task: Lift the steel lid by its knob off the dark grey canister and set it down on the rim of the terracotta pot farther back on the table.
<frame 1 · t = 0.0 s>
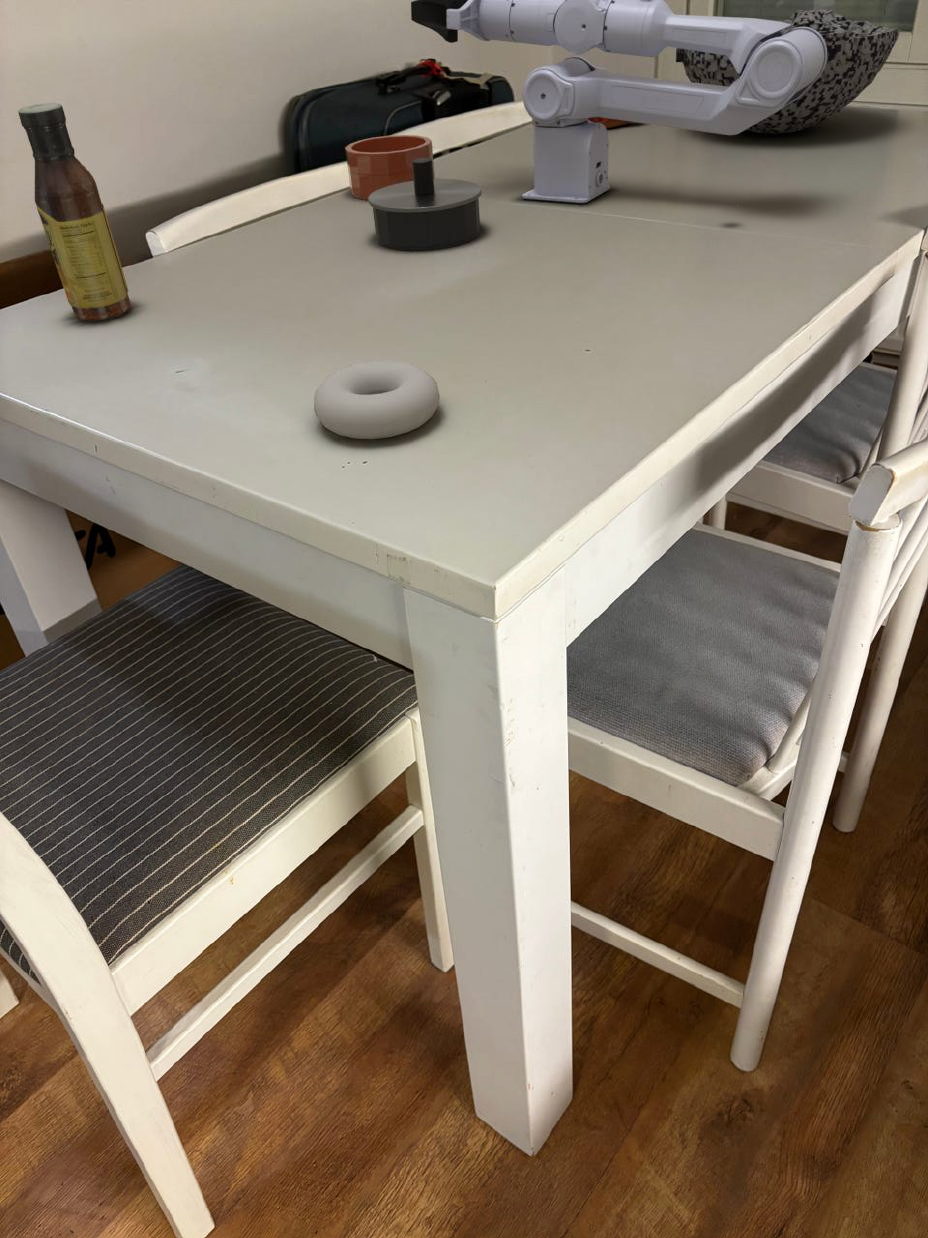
hand: (429, 6, 124), 22 cm above the table, tool horizontal, fingers open, 7 cm apart
donut: (379, 420, 76), on the table
lid: (425, 197, 114), point 4 cm above the table, touching dark grey canister
bowl: (775, 131, 151), on the table
dark grey canister: (428, 235, 117), on the table
pot: (393, 189, 137), on the table
sauce bottle: (103, 315, 102), on the table
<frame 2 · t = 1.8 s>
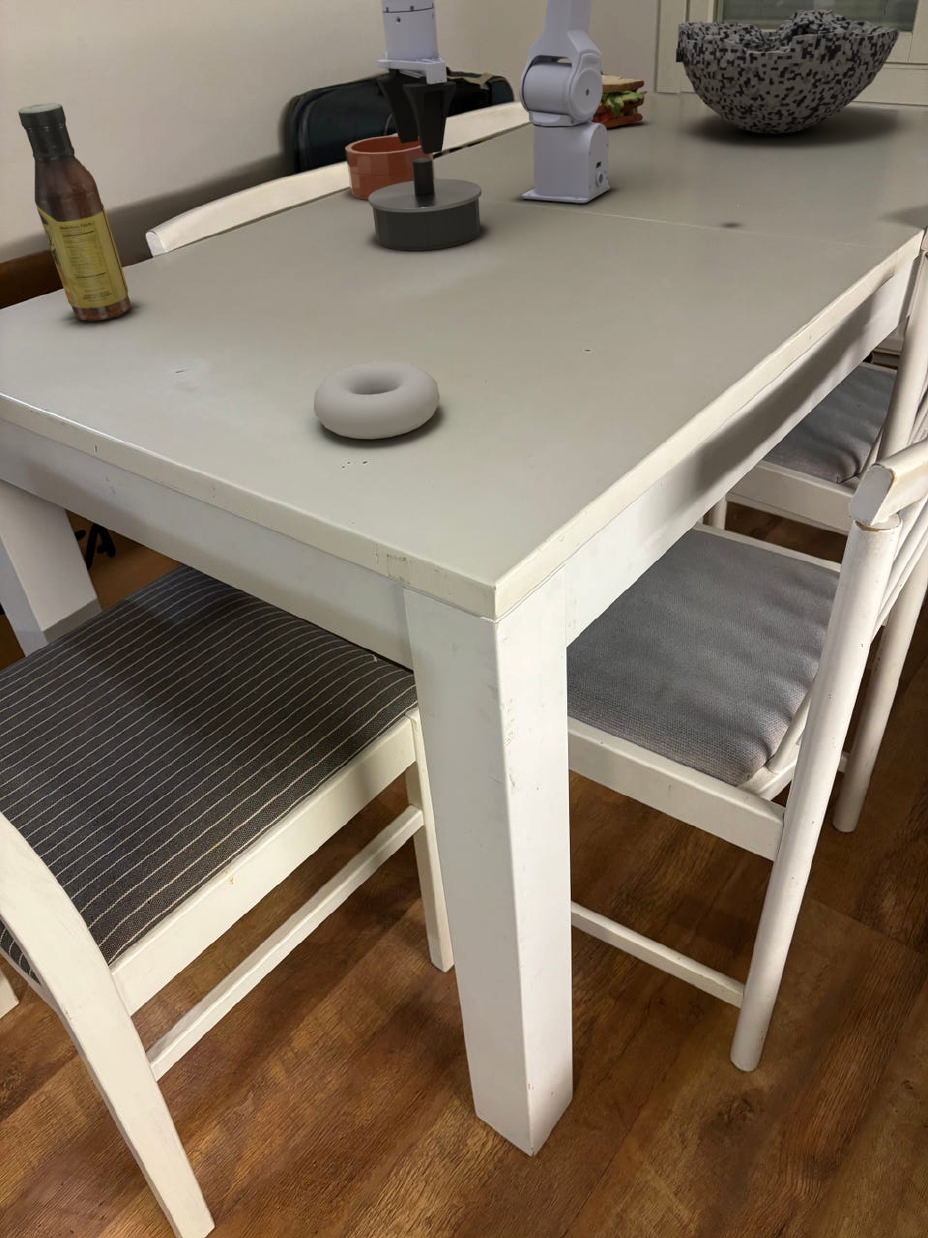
hand: (420, 146, 111), 10 cm above the table, tool pointing down, fingers open, 7 cm apart
nothing on the table moved.
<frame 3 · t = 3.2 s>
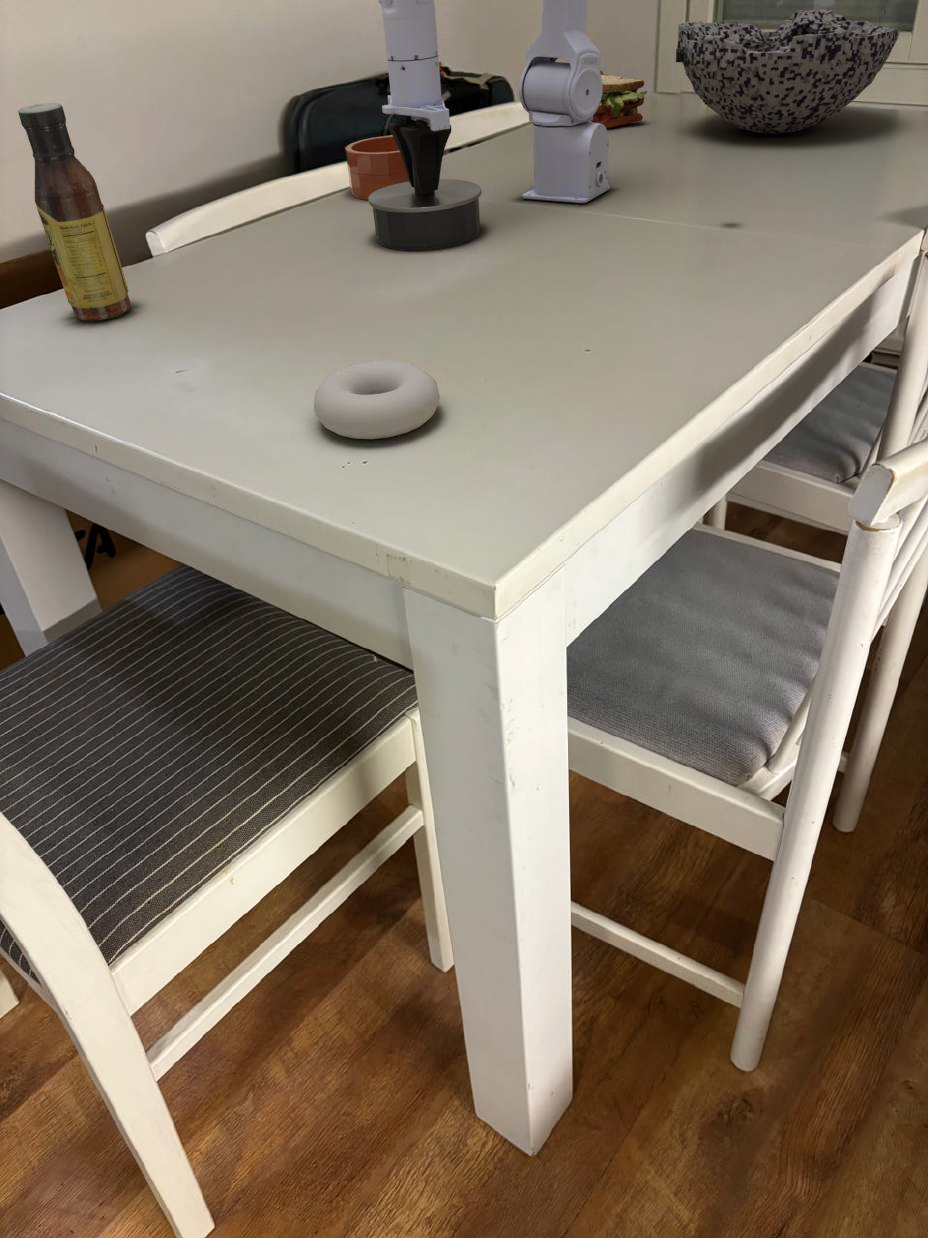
hand: (424, 188, 114), 5 cm above the table, tool pointing down, fingers closed on lid, 2 cm apart
lid: (425, 197, 114), point 4 cm above the table, touching gripper, dark grey canister
everything else where it was.
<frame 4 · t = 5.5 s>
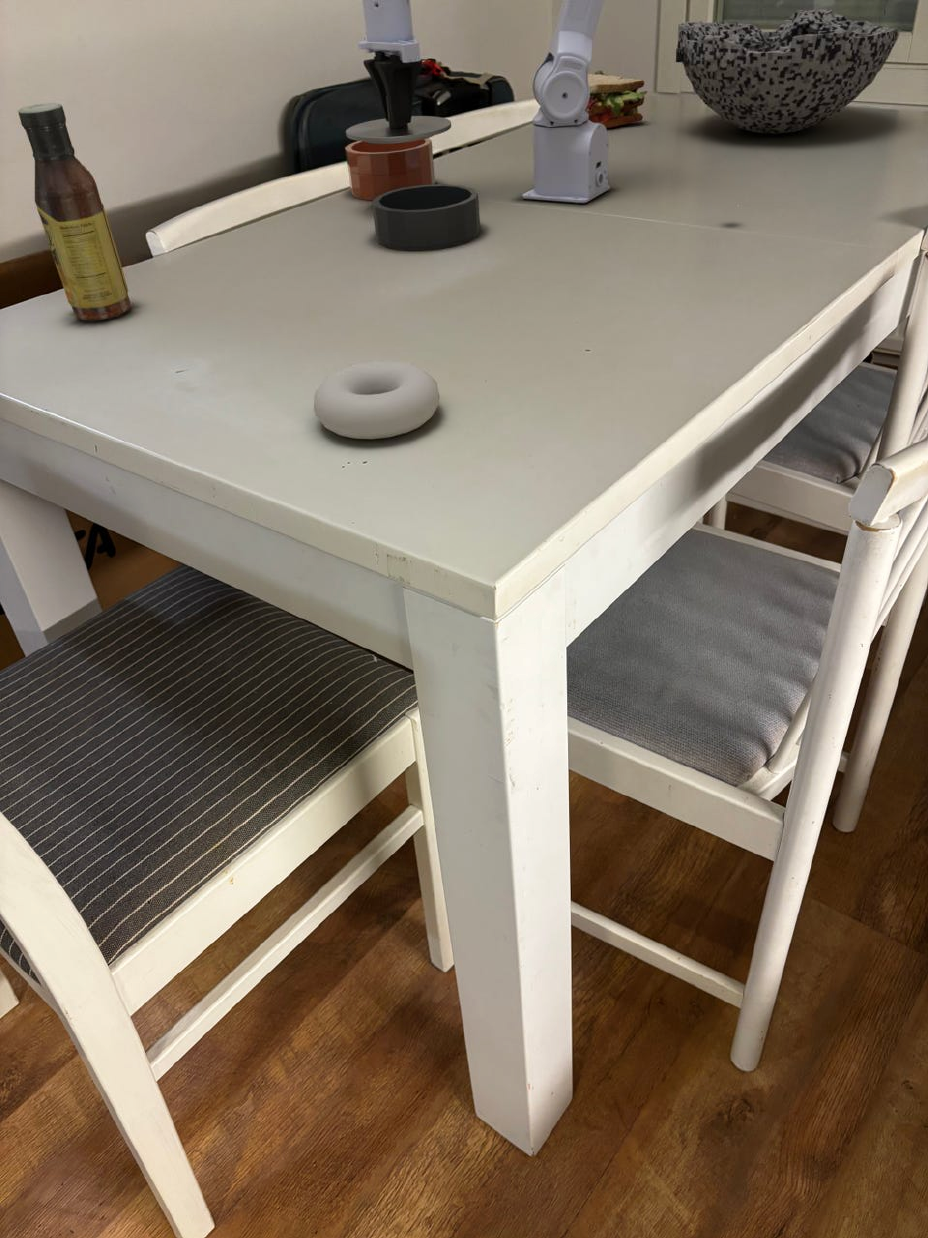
hand: (398, 121, 122), 10 cm above the table, tool pointing down, fingers closed on lid, 2 cm apart
lid: (398, 130, 123), point 9 cm above the table, touching gripper
everything else where it was.
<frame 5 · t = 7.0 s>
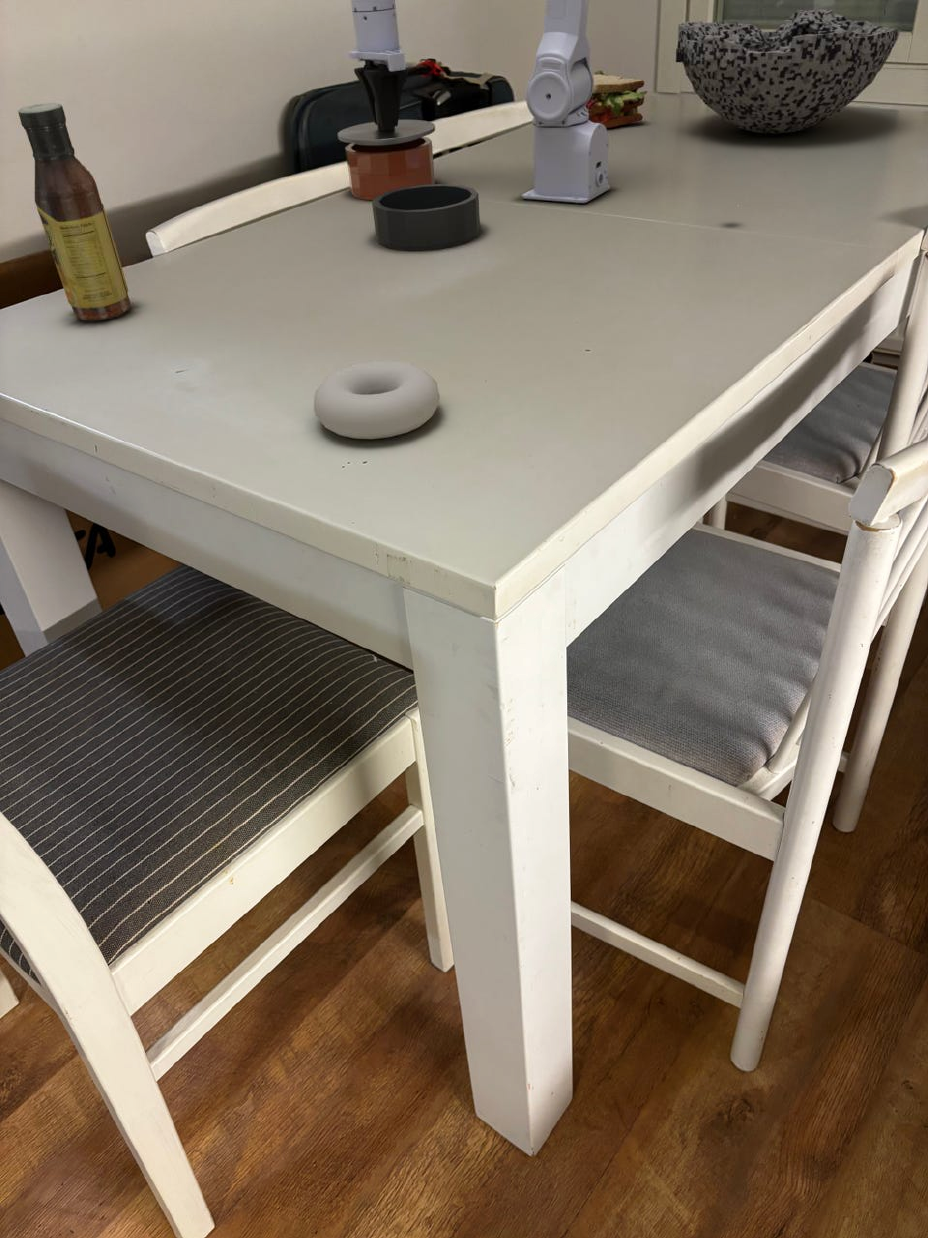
hand: (386, 125, 132), 8 cm above the table, tool pointing down, fingers closed on lid, 2 cm apart
lid: (386, 133, 132), point 7 cm above the table, touching gripper
everything else where it was.
when the fingers open (7 cm above the table, at t = 7.8 s): lid stays where it is, resting on pot.
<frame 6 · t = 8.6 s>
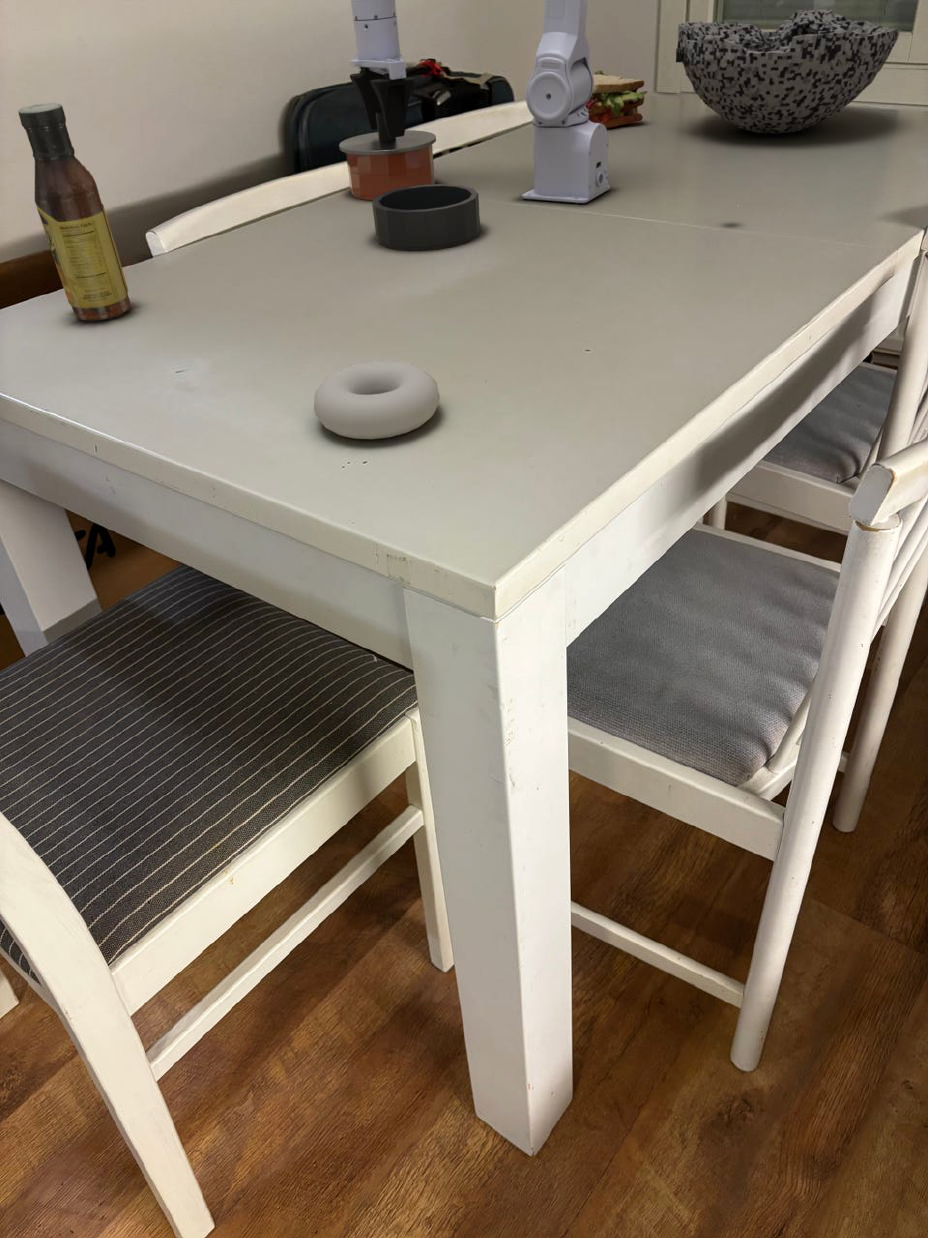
hand: (387, 132, 132), 7 cm above the table, tool pointing down, fingers open, 7 cm apart
lid: (387, 143, 133), point 6 cm above the table, touching pot
everything else where it was.
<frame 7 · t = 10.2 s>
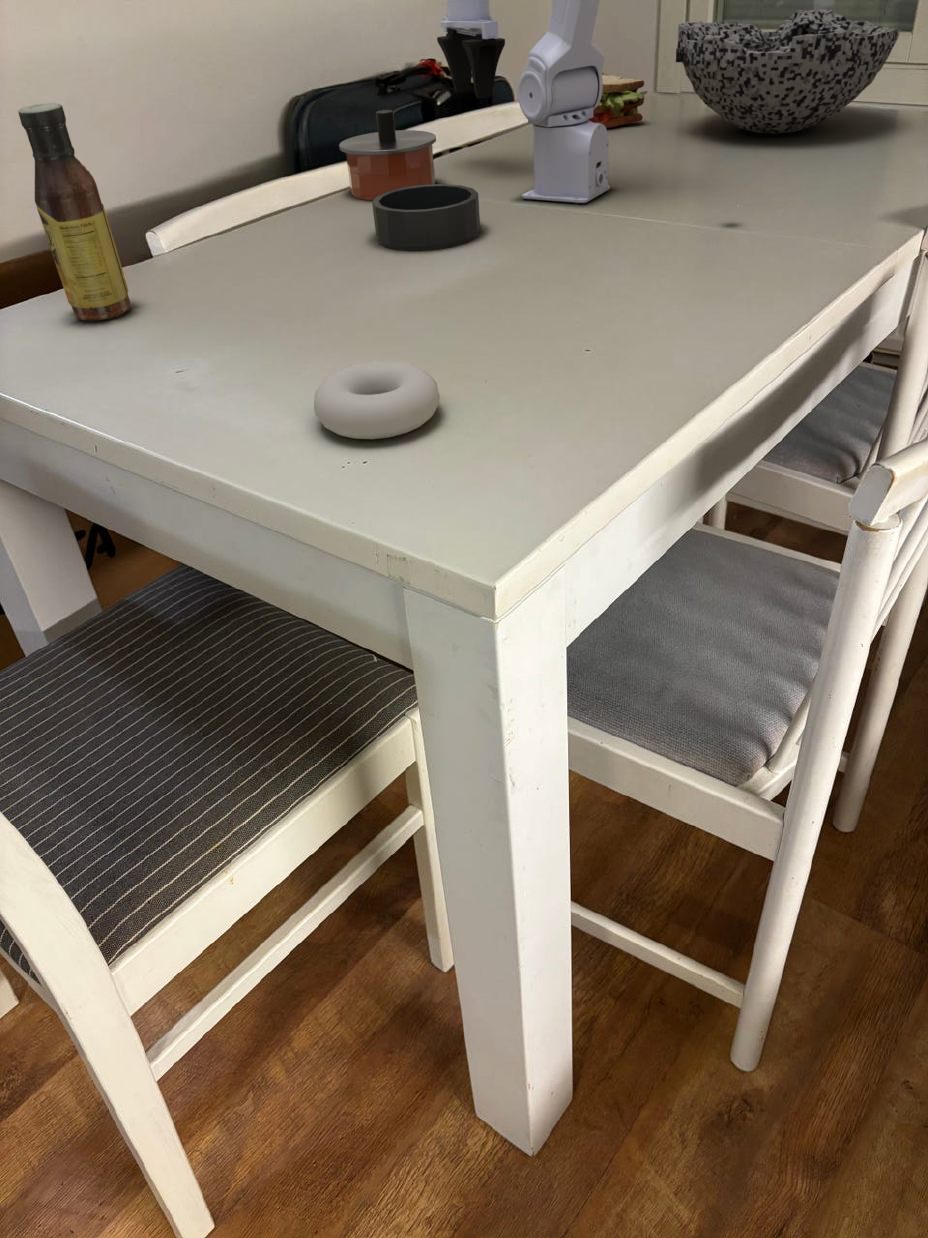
hand: (473, 94, 135), 10 cm above the table, tool pointing down, fingers open, 7 cm apart
nothing on the table moved.
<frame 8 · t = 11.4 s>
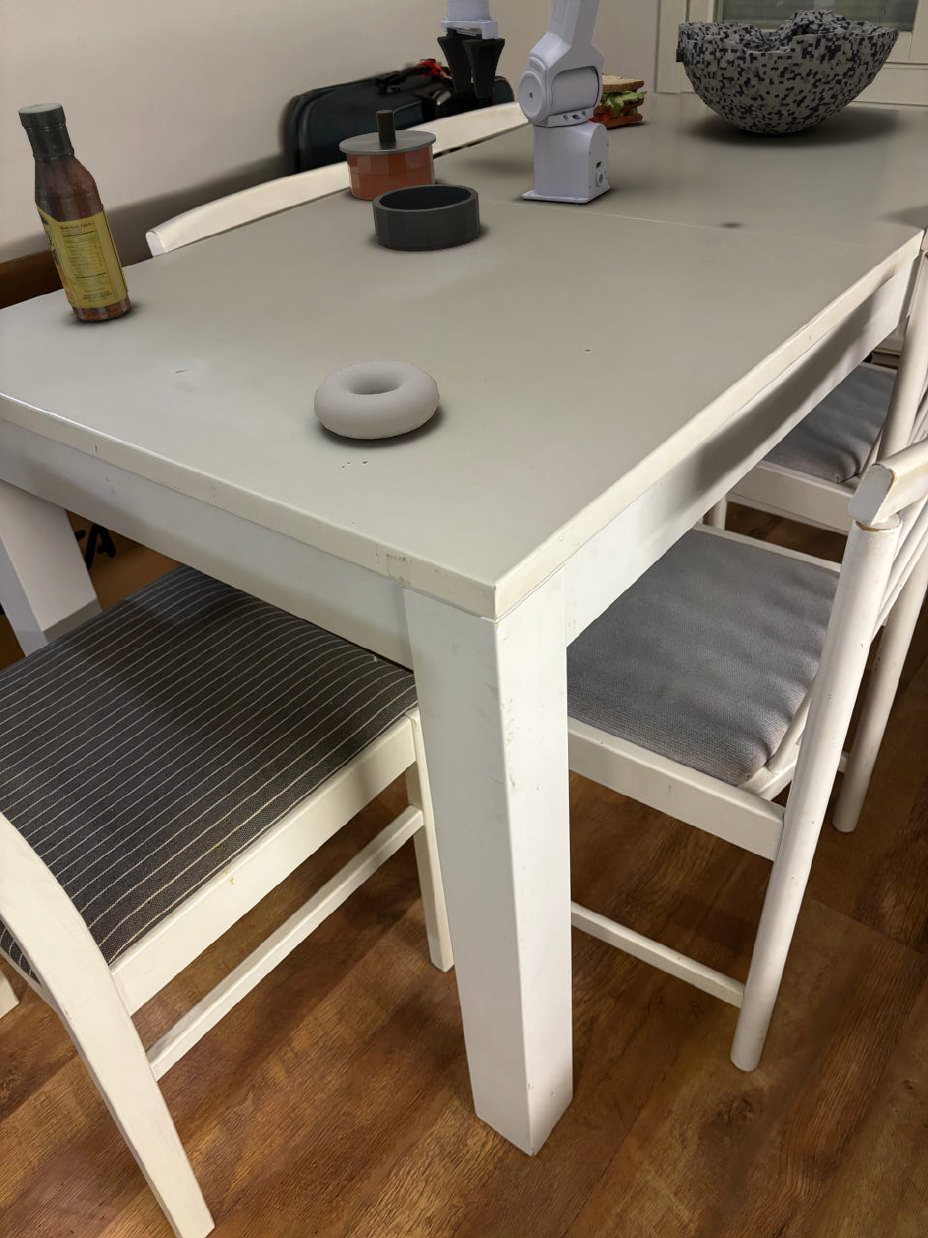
hand: (473, 94, 135), 10 cm above the table, tool pointing down, fingers open, 7 cm apart
nothing on the table moved.
at the end: lid 0.1 cm off-centre on the pot, point 6.0 cm above the pot's base; lid tilted 0° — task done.
